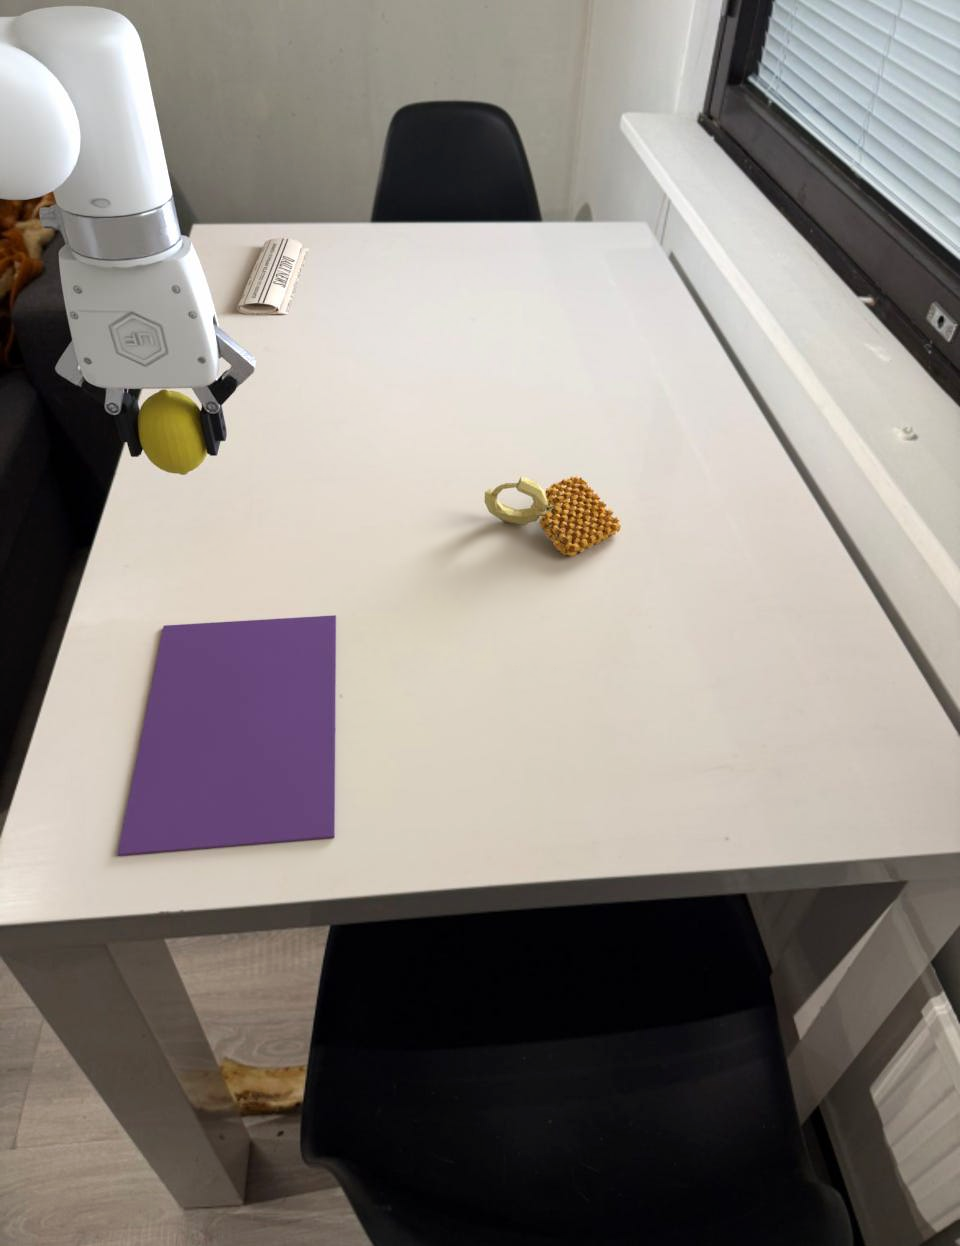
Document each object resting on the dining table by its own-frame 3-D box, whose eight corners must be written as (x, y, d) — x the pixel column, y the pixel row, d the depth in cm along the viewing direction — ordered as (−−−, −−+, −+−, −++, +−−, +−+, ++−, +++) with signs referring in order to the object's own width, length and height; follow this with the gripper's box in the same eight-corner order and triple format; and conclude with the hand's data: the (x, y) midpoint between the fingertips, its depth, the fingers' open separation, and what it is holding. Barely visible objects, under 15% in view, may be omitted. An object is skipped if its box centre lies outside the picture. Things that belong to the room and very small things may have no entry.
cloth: (334, 838, 66) (334, 836, 66) (118, 856, 65) (117, 854, 64) (336, 617, 83) (335, 615, 83) (164, 627, 81) (163, 625, 81)
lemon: (209, 493, 73) (189, 409, 67) (143, 491, 73) (118, 408, 67) (222, 456, 77) (205, 374, 71) (159, 454, 77) (137, 372, 71)
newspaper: (266, 248, 143) (264, 237, 142) (309, 249, 143) (307, 238, 142) (238, 314, 126) (236, 302, 125) (287, 315, 126) (285, 303, 125)
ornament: (634, 470, 92) (499, 434, 91) (628, 548, 87) (484, 511, 85) (613, 509, 98) (485, 475, 96) (606, 584, 92) (470, 550, 91)
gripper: (-25, 246, 57) (60, 475, 70) (241, 247, 58) (276, 471, 71) (10, 205, 62) (83, 424, 75) (253, 207, 63) (284, 422, 76)
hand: (177, 445), depth 73 cm, fingers closed on lemon, 5 cm apart
